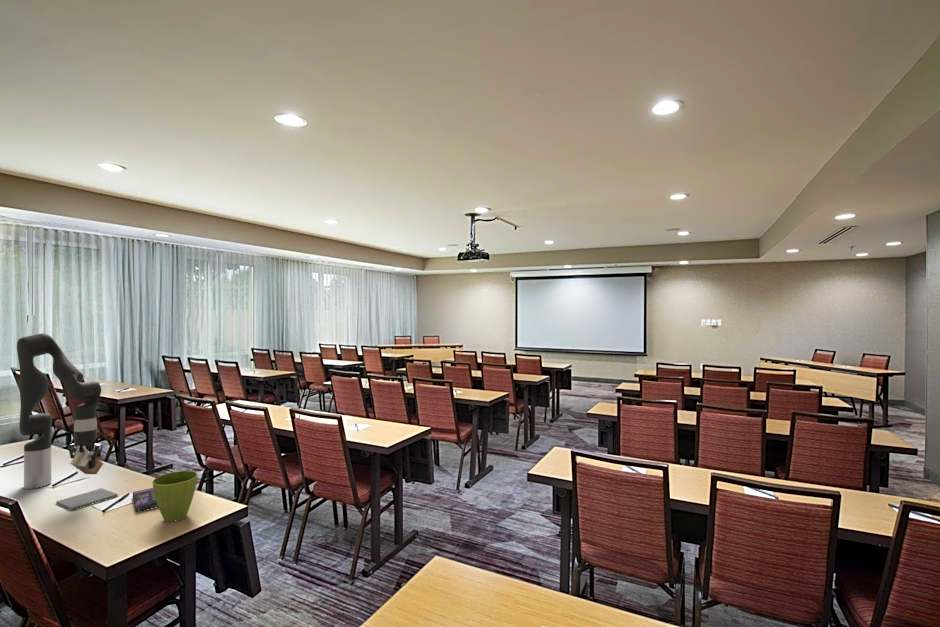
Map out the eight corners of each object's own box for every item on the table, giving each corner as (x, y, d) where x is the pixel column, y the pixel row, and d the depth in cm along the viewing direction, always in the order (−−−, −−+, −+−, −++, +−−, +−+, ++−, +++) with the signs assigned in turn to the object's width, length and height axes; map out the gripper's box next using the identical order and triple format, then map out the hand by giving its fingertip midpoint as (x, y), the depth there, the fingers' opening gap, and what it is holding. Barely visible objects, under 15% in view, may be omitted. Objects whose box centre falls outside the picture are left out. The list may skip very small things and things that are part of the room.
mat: (56, 503, 189) (56, 501, 189) (101, 490, 204) (101, 488, 204) (72, 510, 183) (72, 508, 183) (117, 496, 197) (117, 494, 197)
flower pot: (201, 518, 176) (201, 478, 176) (155, 530, 166) (155, 487, 166) (193, 506, 187) (193, 468, 187) (150, 517, 177) (150, 476, 177)
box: (132, 499, 196) (135, 514, 181) (132, 491, 196) (135, 505, 181) (170, 491, 205) (176, 504, 190) (170, 483, 205) (176, 496, 190)
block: (85, 474, 195) (69, 463, 187) (92, 463, 198) (77, 452, 191) (96, 474, 194) (81, 463, 187) (103, 463, 198) (88, 452, 191)
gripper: (61, 430, 189) (61, 471, 188) (93, 431, 188) (93, 471, 188) (78, 426, 196) (77, 465, 196) (108, 426, 195) (108, 465, 195)
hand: (85, 468), depth 192 cm, fingers closed on block, 5 cm apart
